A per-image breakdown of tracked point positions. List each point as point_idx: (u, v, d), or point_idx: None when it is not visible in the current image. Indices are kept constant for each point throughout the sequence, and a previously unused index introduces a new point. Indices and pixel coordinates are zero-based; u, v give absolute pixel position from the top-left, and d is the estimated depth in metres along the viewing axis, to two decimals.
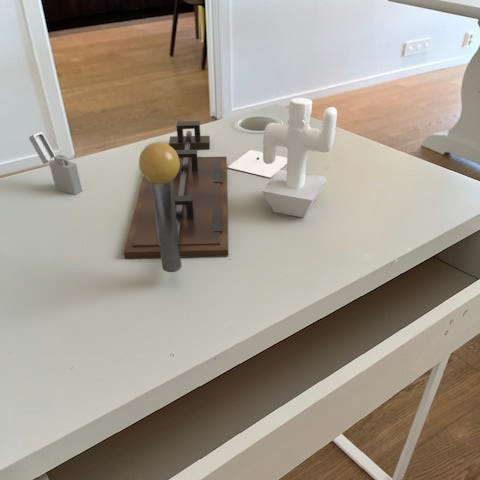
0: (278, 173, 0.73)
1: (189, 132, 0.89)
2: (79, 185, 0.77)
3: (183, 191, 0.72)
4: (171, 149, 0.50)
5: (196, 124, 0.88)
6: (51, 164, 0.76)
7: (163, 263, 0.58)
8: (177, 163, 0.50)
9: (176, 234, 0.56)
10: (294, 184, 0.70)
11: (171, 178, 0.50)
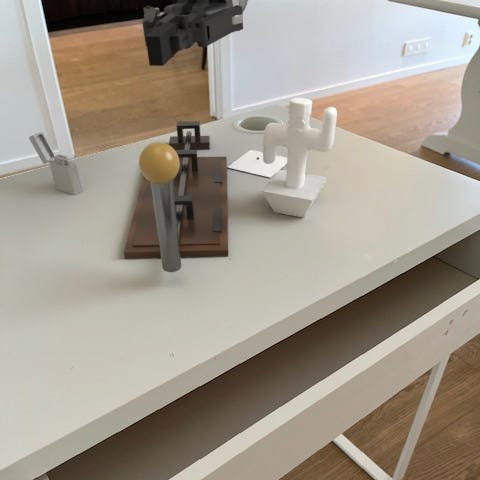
0: (278, 173, 0.73)
1: (189, 132, 0.89)
2: (79, 185, 0.77)
3: (183, 191, 0.72)
4: (171, 149, 0.50)
5: (196, 124, 0.88)
6: (51, 164, 0.76)
7: (163, 263, 0.58)
8: (177, 163, 0.50)
9: (176, 234, 0.56)
10: (294, 184, 0.70)
11: (171, 178, 0.50)
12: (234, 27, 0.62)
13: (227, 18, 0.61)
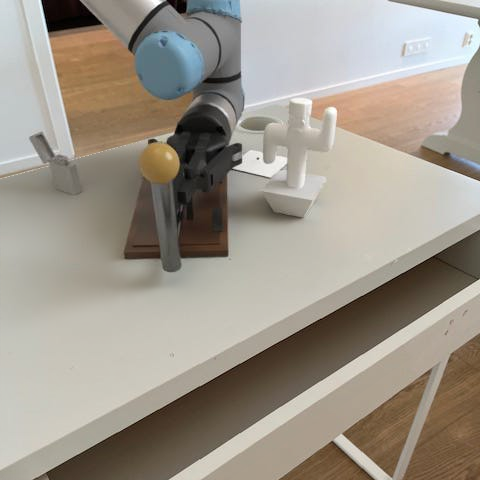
0: (278, 173, 0.73)
1: None
2: (79, 185, 0.77)
3: None
4: (171, 149, 0.50)
5: None
6: (51, 164, 0.76)
7: (163, 263, 0.58)
8: (177, 163, 0.50)
9: (176, 234, 0.56)
10: (294, 184, 0.70)
11: (171, 178, 0.50)
12: (234, 163, 0.67)
13: (228, 159, 0.65)
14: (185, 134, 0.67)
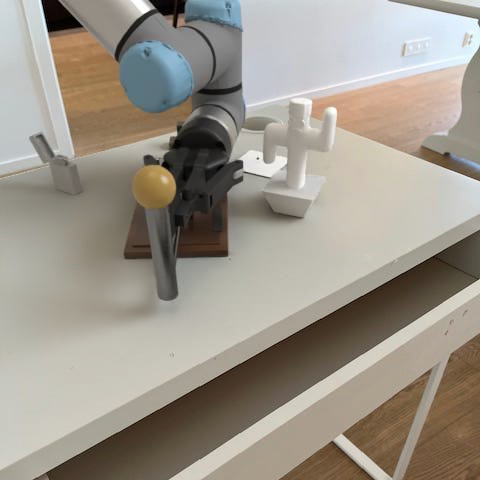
0: (278, 173, 0.73)
1: None
2: (79, 185, 0.77)
3: None
4: (167, 173, 0.46)
5: None
6: (51, 164, 0.76)
7: (159, 292, 0.54)
8: (173, 188, 0.46)
9: (173, 261, 0.52)
10: (294, 184, 0.70)
11: (167, 204, 0.47)
12: (235, 181, 0.63)
13: (228, 177, 0.61)
14: (183, 150, 0.63)
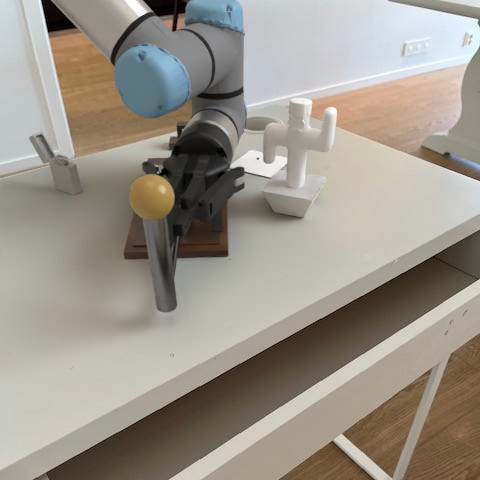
0: (278, 173, 0.73)
1: None
2: (79, 185, 0.77)
3: None
4: (165, 182, 0.44)
5: None
6: (51, 164, 0.76)
7: (157, 303, 0.52)
8: (172, 198, 0.45)
9: (171, 272, 0.50)
10: (294, 184, 0.70)
11: (165, 214, 0.45)
12: (236, 189, 0.61)
13: (229, 184, 0.59)
14: (183, 156, 0.62)
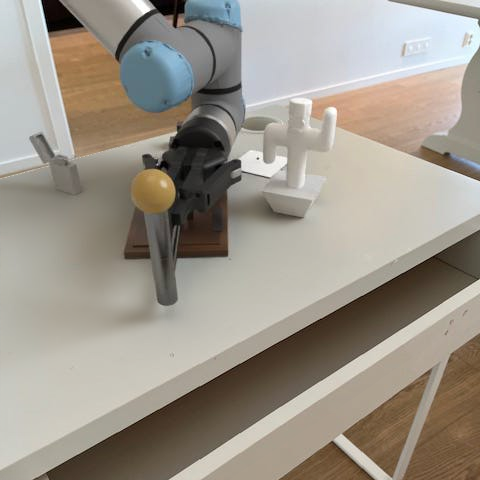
0: (278, 173, 0.73)
1: None
2: (79, 185, 0.77)
3: None
4: (166, 177, 0.45)
5: None
6: (51, 164, 0.76)
7: (158, 297, 0.53)
8: (172, 192, 0.46)
9: (172, 266, 0.51)
10: (294, 184, 0.70)
11: (166, 208, 0.46)
12: (233, 180, 0.63)
13: (226, 176, 0.61)
14: (181, 149, 0.64)
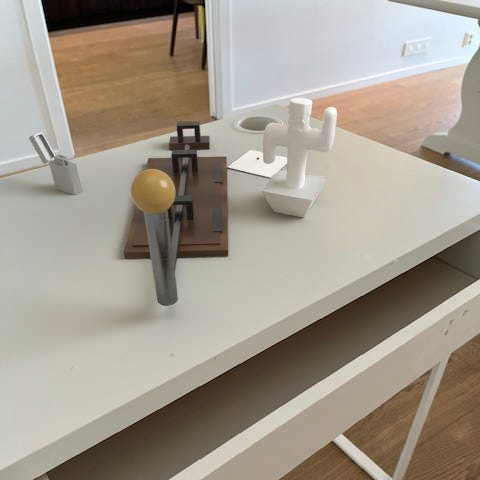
0: (278, 173, 0.73)
1: (187, 146, 0.84)
2: (79, 185, 0.77)
3: (181, 212, 0.68)
4: (166, 177, 0.45)
5: (196, 124, 0.88)
6: (51, 164, 0.76)
7: (158, 297, 0.53)
8: (172, 192, 0.46)
9: (172, 266, 0.51)
10: (294, 184, 0.70)
11: (166, 208, 0.46)
12: None
13: None
14: None
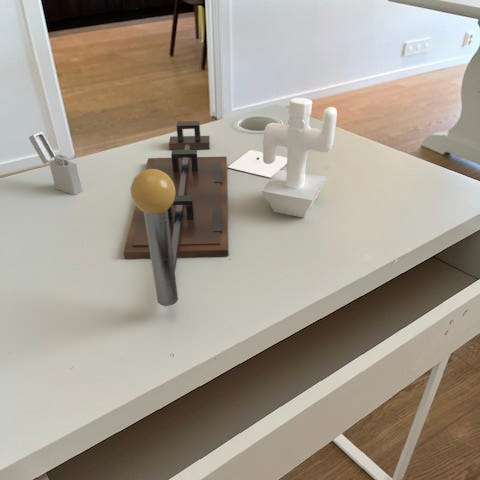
0: (278, 173, 0.73)
1: (187, 146, 0.84)
2: (79, 185, 0.77)
3: (181, 212, 0.68)
4: (166, 177, 0.45)
5: (196, 124, 0.88)
6: (51, 164, 0.76)
7: (158, 297, 0.53)
8: (172, 192, 0.46)
9: (172, 266, 0.51)
10: (294, 184, 0.70)
11: (166, 208, 0.46)
12: None
13: None
14: None
